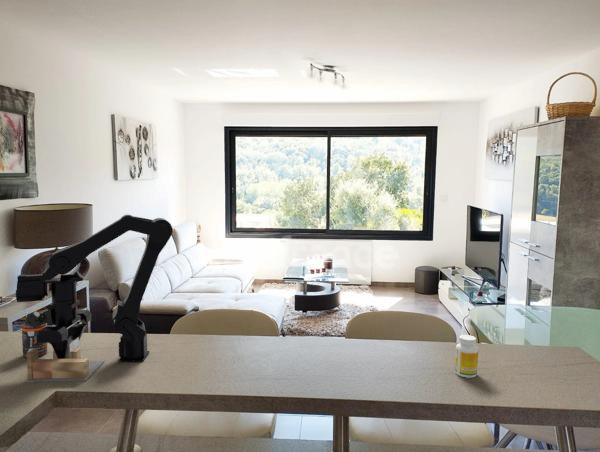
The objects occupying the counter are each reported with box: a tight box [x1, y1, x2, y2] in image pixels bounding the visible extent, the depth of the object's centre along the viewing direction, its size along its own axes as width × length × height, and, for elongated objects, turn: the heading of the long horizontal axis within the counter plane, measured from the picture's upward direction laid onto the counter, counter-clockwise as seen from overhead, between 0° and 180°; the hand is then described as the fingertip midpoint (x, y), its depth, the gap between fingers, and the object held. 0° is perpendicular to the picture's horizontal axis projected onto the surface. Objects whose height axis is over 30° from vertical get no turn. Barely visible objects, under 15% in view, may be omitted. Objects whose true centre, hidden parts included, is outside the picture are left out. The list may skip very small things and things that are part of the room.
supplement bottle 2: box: [454, 334, 479, 379], centre depth 116 cm, size 5×5×10 cm
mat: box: [26, 360, 105, 383], centre depth 116 cm, size 14×12×1 cm
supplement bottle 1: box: [21, 314, 48, 358], centre depth 127 cm, size 6×6×11 cm
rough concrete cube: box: [53, 337, 80, 359], centre depth 119 cm, size 4×5×5 cm
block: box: [26, 347, 90, 380], centre depth 116 cm, size 14×10×6 cm
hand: (67, 357), depth 119 cm, fingers closed on rough concrete cube, 5 cm apart
